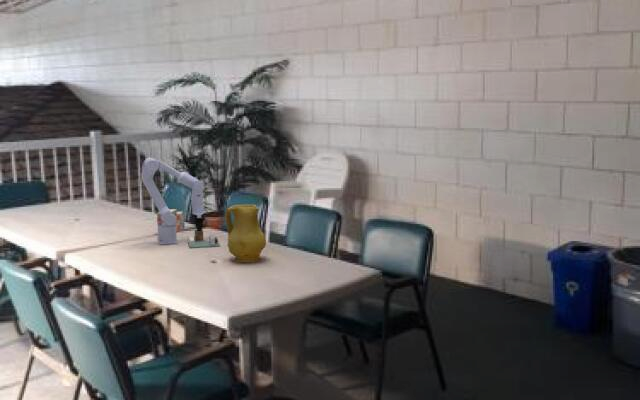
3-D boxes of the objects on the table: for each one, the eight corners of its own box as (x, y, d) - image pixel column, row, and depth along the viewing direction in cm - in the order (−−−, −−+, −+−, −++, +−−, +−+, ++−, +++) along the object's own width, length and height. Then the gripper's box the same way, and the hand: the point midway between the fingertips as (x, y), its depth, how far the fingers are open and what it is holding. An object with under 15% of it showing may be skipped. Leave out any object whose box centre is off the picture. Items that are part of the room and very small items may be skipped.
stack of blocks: (174, 227, 369) (173, 206, 367) (184, 227, 368) (183, 206, 366) (157, 235, 349) (156, 212, 347) (168, 235, 347) (167, 213, 345)
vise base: (189, 248, 318) (189, 241, 317) (188, 243, 329) (187, 236, 329) (220, 246, 321) (220, 239, 321) (217, 241, 333) (217, 234, 332)
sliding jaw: (210, 245, 321) (210, 239, 321) (209, 240, 331) (208, 235, 330) (218, 244, 322) (218, 238, 322) (216, 240, 332) (216, 234, 331)
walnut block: (195, 241, 333) (195, 231, 333) (194, 239, 338) (194, 229, 337) (203, 240, 334) (203, 231, 334) (202, 238, 339) (202, 229, 338)
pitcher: (235, 265, 284) (235, 208, 281) (221, 258, 300) (220, 204, 298) (272, 261, 292) (271, 206, 289) (256, 255, 308) (255, 202, 306)
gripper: (206, 205, 327) (208, 231, 330) (204, 200, 341) (205, 226, 343) (192, 205, 326) (193, 232, 328) (190, 201, 339) (192, 226, 342)
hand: (198, 229), depth 335 cm, fingers open, 7 cm apart
